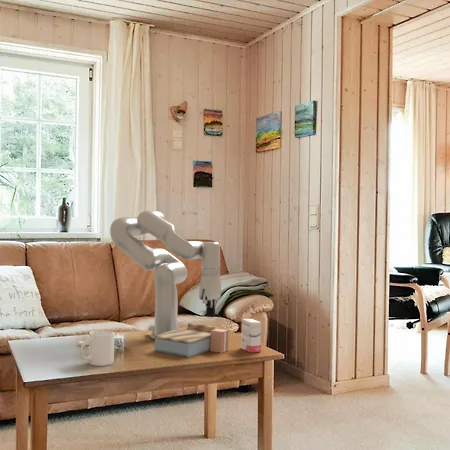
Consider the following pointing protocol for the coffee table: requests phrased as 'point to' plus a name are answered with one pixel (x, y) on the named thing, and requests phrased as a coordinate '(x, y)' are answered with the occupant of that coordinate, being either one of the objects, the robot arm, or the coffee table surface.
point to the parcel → (219, 340)
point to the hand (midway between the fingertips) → (210, 316)
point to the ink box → (251, 335)
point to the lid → (188, 333)
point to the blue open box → (182, 347)
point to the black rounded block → (82, 343)
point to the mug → (100, 348)
